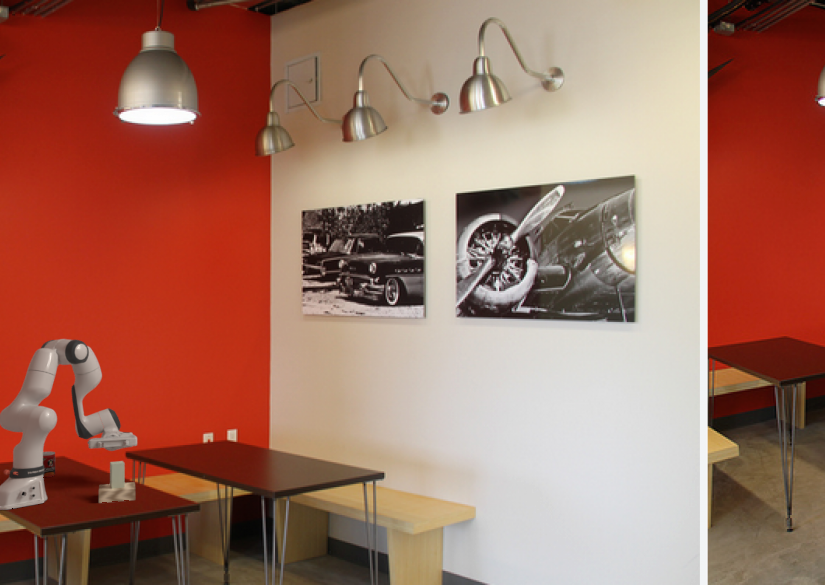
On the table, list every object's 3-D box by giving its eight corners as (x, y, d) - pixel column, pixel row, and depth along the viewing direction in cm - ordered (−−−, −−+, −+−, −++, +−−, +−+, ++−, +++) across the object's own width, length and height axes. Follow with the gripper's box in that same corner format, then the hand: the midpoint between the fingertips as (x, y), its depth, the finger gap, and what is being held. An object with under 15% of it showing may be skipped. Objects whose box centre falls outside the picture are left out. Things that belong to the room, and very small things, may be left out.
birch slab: (98, 504, 322) (98, 491, 322) (99, 496, 335) (99, 484, 336) (135, 500, 327) (135, 488, 327) (134, 493, 340) (134, 482, 340)
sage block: (111, 488, 328) (111, 464, 328) (110, 486, 332) (110, 462, 332) (124, 487, 330) (124, 463, 330) (122, 484, 335) (122, 460, 335)
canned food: (42, 478, 373) (42, 454, 373) (34, 476, 378) (34, 453, 378) (58, 475, 379) (58, 452, 379) (49, 473, 384) (49, 450, 384)
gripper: (87, 434, 355) (88, 438, 343) (135, 432, 363) (138, 435, 351) (87, 449, 355) (87, 453, 342) (135, 446, 363) (138, 450, 350)
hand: (113, 444), depth 346 cm, fingers open, 8 cm apart
